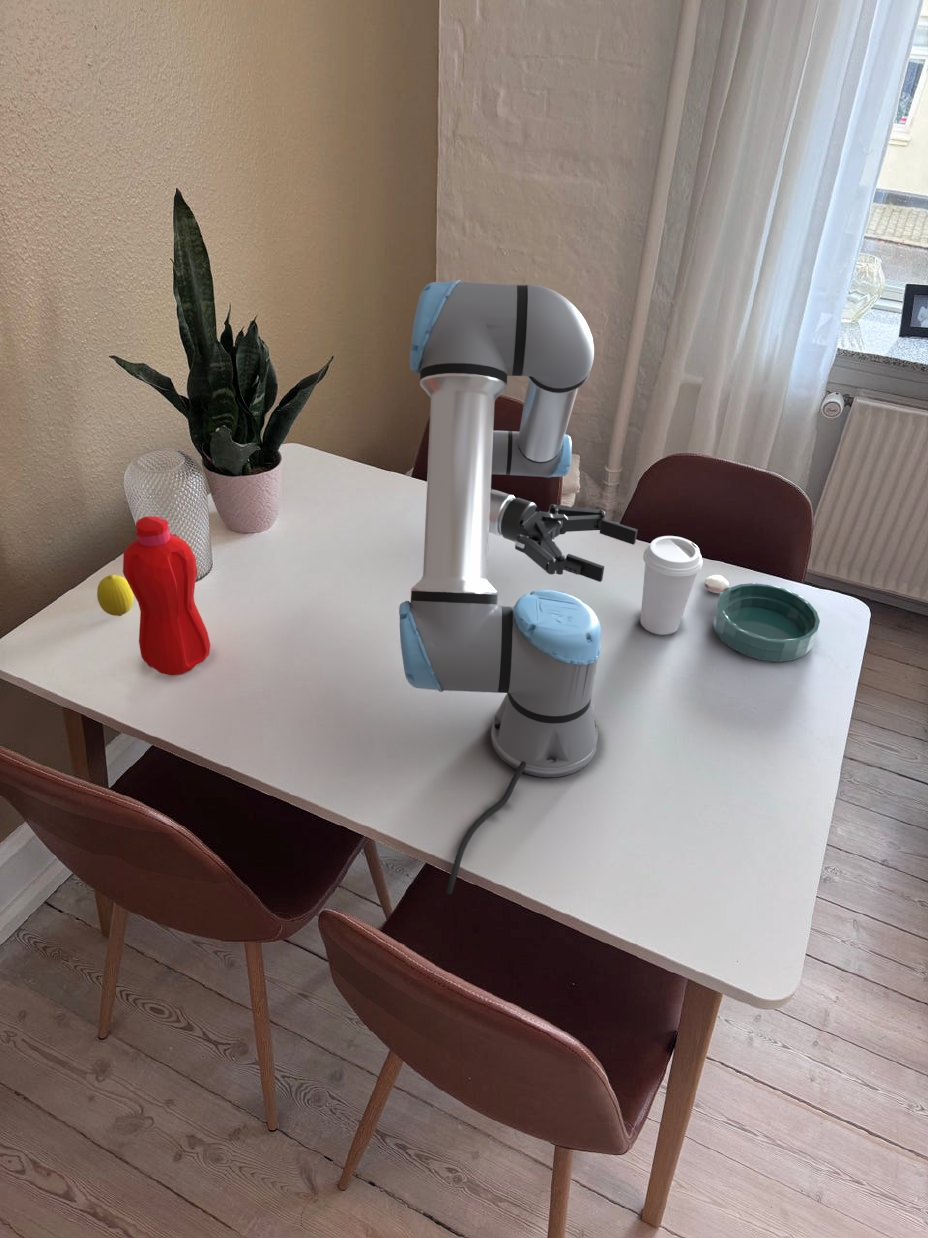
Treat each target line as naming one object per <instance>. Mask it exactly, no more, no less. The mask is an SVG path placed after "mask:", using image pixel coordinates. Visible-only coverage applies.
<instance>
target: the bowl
mask: <svg viewBox="0 0 928 1238" xmlns="http://www.w3.org/2000/svg"><path fill="white" fill-rule="evenodd" d="M820 622H821V620H820V617H819V615H818V611H817V610H816V609H815V608H814V607H813V605H812V604H811V603H810V602H809V601H808V600H806V599H805V598H803V597H802V596H801V595H799V594H798V593H795V592H793V591H790V590H788V589H786V588H784V587H779V586H776V585H772V584H767V583H757V582H750V583H740V584H737V585H734V586H731V587H729V588H728V589H727V590H726V591H725V592H723V593H720V595H719V599H718V600H717V603H716V607H715V611H714V614H713V619H712V624H713V628H714V631H715V634H717V636H718V637H719V639H720V640H721V641H722V642H724V643H725V644H726V645H727V646H729V647H730V648H731V649H732V650H735V651H737V652H738V653H741V654H743V655H745V656H747V657H750V658H754V659H758V660H761V661H769V662H787V661H794V660H796V659H799V658H802V657H804V656H806V655H807V654H808V653H809V652H810V650H812V648H813V646H814V643H815V640H816V638H817V634H818V631H819V628H820Z"/></svg>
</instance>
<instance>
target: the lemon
mask: <svg viewBox="0 0 928 1238" xmlns="http://www.w3.org/2000/svg"><path fill="white" fill-rule="evenodd" d="M96 591H97V592H96V598H97V602H98V604H99V607H100V608H101V609H102V610H103V611H104V612H105V613H106V614H108V615H109V616H110V615H111V616H115V617H116V616H118V617H121V616H123V615H125V614H127V613H128V612H129V611H130V610H131V609H132V607H133V605H134V600H135V595H134V594H133V592H132V590H131V588H130V586H129V584H128V582H127V580H126V578H125V577H124V576H122V575H119V574H109V575H107V576H105V577H103V578H102V579H101V580H100V581H99V583H98V585H97V590H96Z"/></svg>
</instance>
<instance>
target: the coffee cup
mask: <svg viewBox="0 0 928 1238" xmlns="http://www.w3.org/2000/svg"><path fill="white" fill-rule="evenodd" d="M642 559H643V562H644V571H643V572H644V573H643V584H642V596H641V597H642V598H641V611H640V619H639V620H640V624H641V627H643V628H644V629H645V630H646V631H647V632H649V633H651V634H655V635H659V636H660V635H662V636H666V635H672V634H674V633H676V632H677V631H678V630H679V628H680V624H681V621H682V618H683V616H684V613H685V609H686V606H687V604H688V600H689V597H690V595H691V591H692V589H693V586H694V583H695V581H696V577H697V574H698V572H700V571H701V570H702V568H703V564H704V563H703V558H702V554H701V551H700V548H699V547H698V545H697V544H695V543H694V542H693V541H691V540H689V539H687V538H684V537H681V536H674V535H663V536H658V537H656V538H655V539H653V540H652V541H651V542H650V544H649V545H647V547H646V548H645V549H644V552H643V554H642Z"/></svg>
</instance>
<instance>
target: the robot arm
mask: <svg viewBox="0 0 928 1238" xmlns="http://www.w3.org/2000/svg"><path fill="white" fill-rule="evenodd" d="M594 359H595V346H594V339H593V335H592V333H591V330H590V326H588V323H587V321H586V319H585V318H584V316H583V315H582V313H581V312H580V310H578V308H577V307H576V306H575V305H574V304H573V303H572V302H571V301H570V300H569V299H567V298H566V297H565V296H563V295H562V294H560V293H559V292H557V291H555V290H553V289H551V288H549V287H545V286H544V285H543V286H542V285H537V284H512V283H493V282H476V281H473V282H472V281H461V280H457V279H455V281H432V282H429V283H428V284H426V285H425V286H424V287H423V289H422V290H421V292H420V295H419V297H418V301H417V306H416V310H415V315H414V320H413V327H412V334H411V344H410V352H409V368H410V370H411V371H412V372H414V373H415V374H419V386H420V387H421V388H422V389H423V390H424V391H425V393H426V394H427V395H428V396H429V398H430V406H429V408H430V409H429V430H428V431H429V432H428V450H427V451H428V452H427V478H426V499H425V500H426V501H425V520H424V521H425V524H424V545H423V569H422V570H423V571H422V576H421V578H420V580H418V582H416V583H415V585H413V586H412V587H411V588H410V600H405V601H402V602H400V604H399V607H398V614H399V615H398V616H399V633H400V634H399V637H400V648H401V658H402V665H403V671H404V676H405V678H406V680H407V682H408V684H409V685H410V686H412V687H413V688H415V689H420V690H421V689H422V690H432V691H438V692H440V693H442V692H444V691H447V692H471V693H473V692H474V693H496V694H505V696H504V697H503V699H502V702H501V703H500V705H499V707H498V709H497V710H496V713H495V715H494V716H493V719H492V723H491V733H490V736H491V737H490V738H491V744H492V747H493V749H494V751H495V753H496V754H497V756H499V758H500V759H501V760H502V761H503V762H504V763H505V764H507V765H508V766H509V767H511V768H512V769H515V772H514V774H513V776H512V778H511V780H510V781H509V784H508V786H507V788H506V790H505V793H504V794H503V796H502V797H501V798H500V799H499V800H498V802H496V803H495V804H493V805H492V806H490V808H488V809H486V810H485V811H484V812H483V813H482V814H481V815H480V816H479V817H478V818H477V819H476V820H475V821H474V822H473V823H472V824H471V825H470V827H469V828H468V830H466V833H465V835H464V836H463V837H462V840H461V842H460V844H459V846H458V848H457V851H456V855H455V857H454V861H453V864H452V869H451V872H450V875H449V878H448V882H447V885H446V889H445V893H446V895H451V894H452V893H453V891H454V887H455V884H456V880H457V877H458V874H459V873H458V872H459V870H460V867H461V862H462V859H463V856H464V854H465V850H466V849H467V846H468V844H469V843H470V840H471V839H472V837H473V835H474V833H475V832H476V831H477V830H478V828H479V827H480V826H481V825H482V824H483V823H484V822H485V821H487V820H488V818H490V816H492V815H493V814H494V813H496V812H497V811H499V810H500V809H502V808H503V807H504V805H505V804H506V803H507V802H508V800H509V799H510V798H511V796H512V793H513V792H514V789H515V787H516V785H517V783H518V782H519V779H520V778H521V776H522V774H527V775H529V776H534V777H540V778H559V777H565V776H568V775H569V776H570V775H573V774H574V773H577V772H578V771H581V770H582V769H583V768H585V767H586V766H587V765H588V764H590V762H591V761H592V759H593V758H594V756H595V755H596V752H597V747H598V741H599V730H598V725H597V724H596V720H595V717H594V712H593V711H594V709H595V705H592V703H591V702H592V698H593V697H592V696H593V690H594V684H595V677H596V672H597V667H598V659H599V658H600V655H601V650H602V649H601V637H602V636H601V635H602V628H601V623H600V620H599V617H598V616H597V614H596V613H595V612H594V611H593V609H592V608H591V607H590V606H589V605H587V604H585V603H583V601H582V600H581V599H578V598H577V597H575V596H573V595H571V594H568V593H565V592H562V591H558V590H552V589H538V590H533V591H530V593H525V594H523V595H522V596H520V597H519V598H518V600H517V601H516V602H515V604H514V606H503V605H498V591H497V590H496V589H495V588H494V586H493V585H492V584H491V582H489V580H488V561H489V560H488V559H489V540H490V539H489V538H490V537H489V536H490V534H492V535H495V536H498V537H502V538H503V539H504V540H505V539H506V540H509V541H511V542H514V549H515V550H516V551H519V552H520V553H523V554H525V556H527V557H528V558H529V559H530V560H532V561H533V562H534V563H535V564H537V566H539V567H540V568H541V569H542V570H544V571H545V573H547V574H548V575H550V576H551V575H555V574H556V575H563V574H564V571H566V572H569V573H571V574H574V575H577V576H579V575H580V576H582V577H585V578H588V579H590V580H593V581H596V582H599V583H601V582H602V581H603V578H604V573H605V572H604V571H605V566H604V565H602V564H600V563H597V562H593V561H590V560H588V559H586V558H582V557H580V556H576V555H573V554H571V553H568V554H566V556H565V554H563V552H562V551H561V549H560V548H559V546H558V545H557V543H556V542H555V541H554V540H555V538H557V537H558V536H560V535H565V534H566V533H569V532H570V533H571V532H588V531H589V532H591V531H599V534H600V535H604V536H606V537H608V538H612V539H615V540H617V541H620V542H623V543H627V544H630V545H632V546H634V545H636V541H637V536H638V531H639V530H638V529H637V528H634V527H632V526H628V525H625V524H621V523H619V522H617V521H615V520H610V519H609V518H606V510H605V509H599V508H587V507H575V506H563V505H559V504H555V503H551V504H550V505H549V510H548V511H541V510H540V509H539V508H538V506H537V504H536V503H535V502H532V501H530V500H526V499H523V498H521V497H515V496H514V494H509V493H506V492H503V491H500V490H497V489H493V488H492V475H502V476H503V475H504V476H505V475H506V476H522V477H523V476H525V477H541V478H546V479H548V478H552V477H553V478H554V477H555V478H556V477H557V478H559V477H562V478H563V477H565V476H567V475H568V474H569V473H570V469H571V463H572V454H573V453H572V451H573V450H572V449H573V448H572V447H573V445H572V438H571V436H570V435H568V434H567V433H566V432H567V429H568V425H569V423H570V419H571V415H572V412H573V408H574V405H575V401H576V399H577V394H578V391H579V388H581V386H583V385H584V384H585V383H586V381H587V380H588V378H589V376H590V374H591V370H592V367H593V363H594ZM523 376H524V377H527V383H526V388H525V395H524V400H523V407H522V408H523V409H522V414H521V420H520V426H519V431H511V430H494V427H495V425H494V423H495V422H494V421H495V404H496V403H495V402H496V401H497V399H498V398H499V397H500V396H501V395H502V394H504V392H505V391H506V390H507V388H508V377H523Z"/></svg>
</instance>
